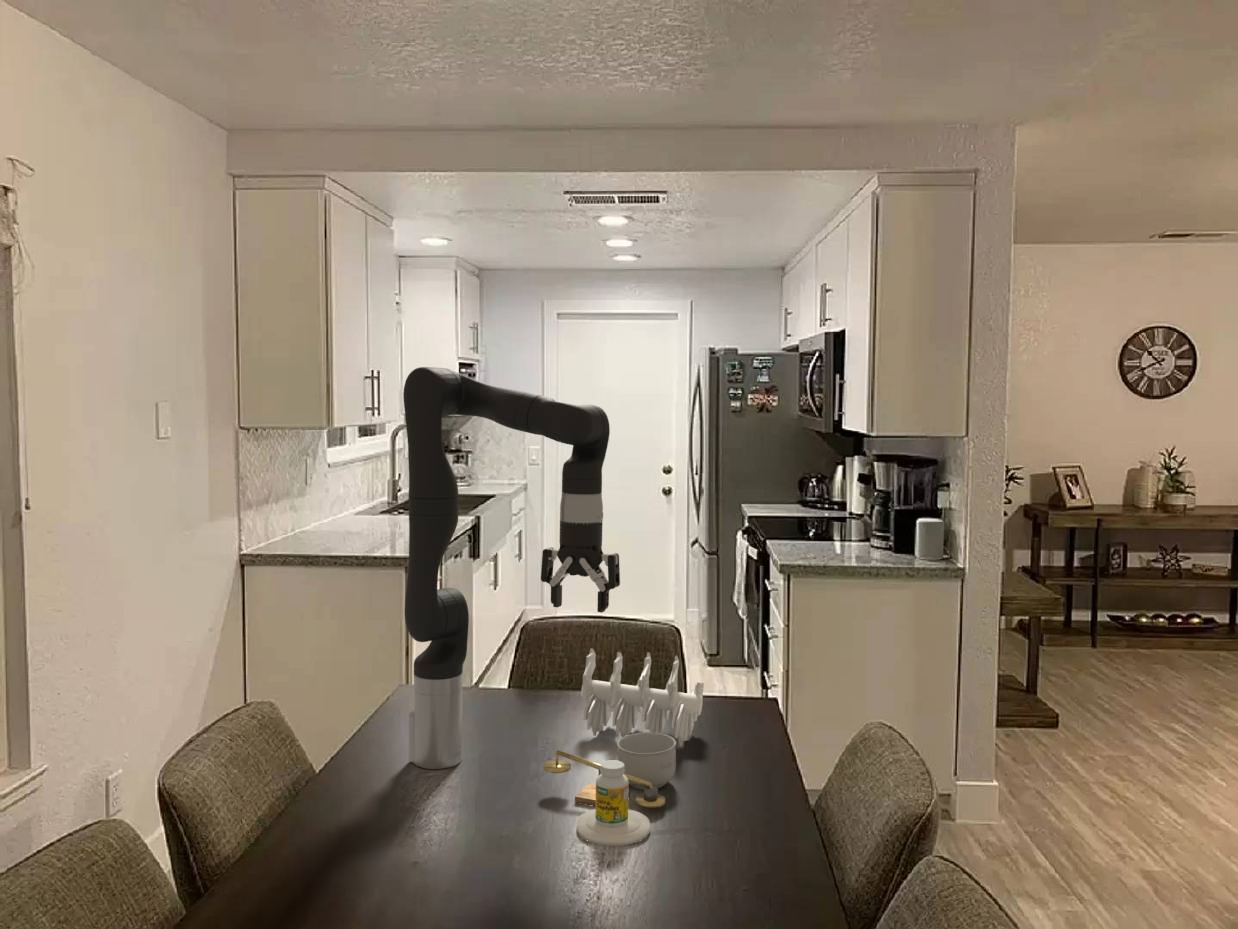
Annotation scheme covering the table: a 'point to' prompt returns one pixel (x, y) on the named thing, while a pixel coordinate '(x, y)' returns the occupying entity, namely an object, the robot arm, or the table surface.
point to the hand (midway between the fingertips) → (579, 609)
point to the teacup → (648, 757)
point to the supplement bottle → (612, 794)
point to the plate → (613, 829)
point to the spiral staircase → (638, 701)
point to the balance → (589, 792)
